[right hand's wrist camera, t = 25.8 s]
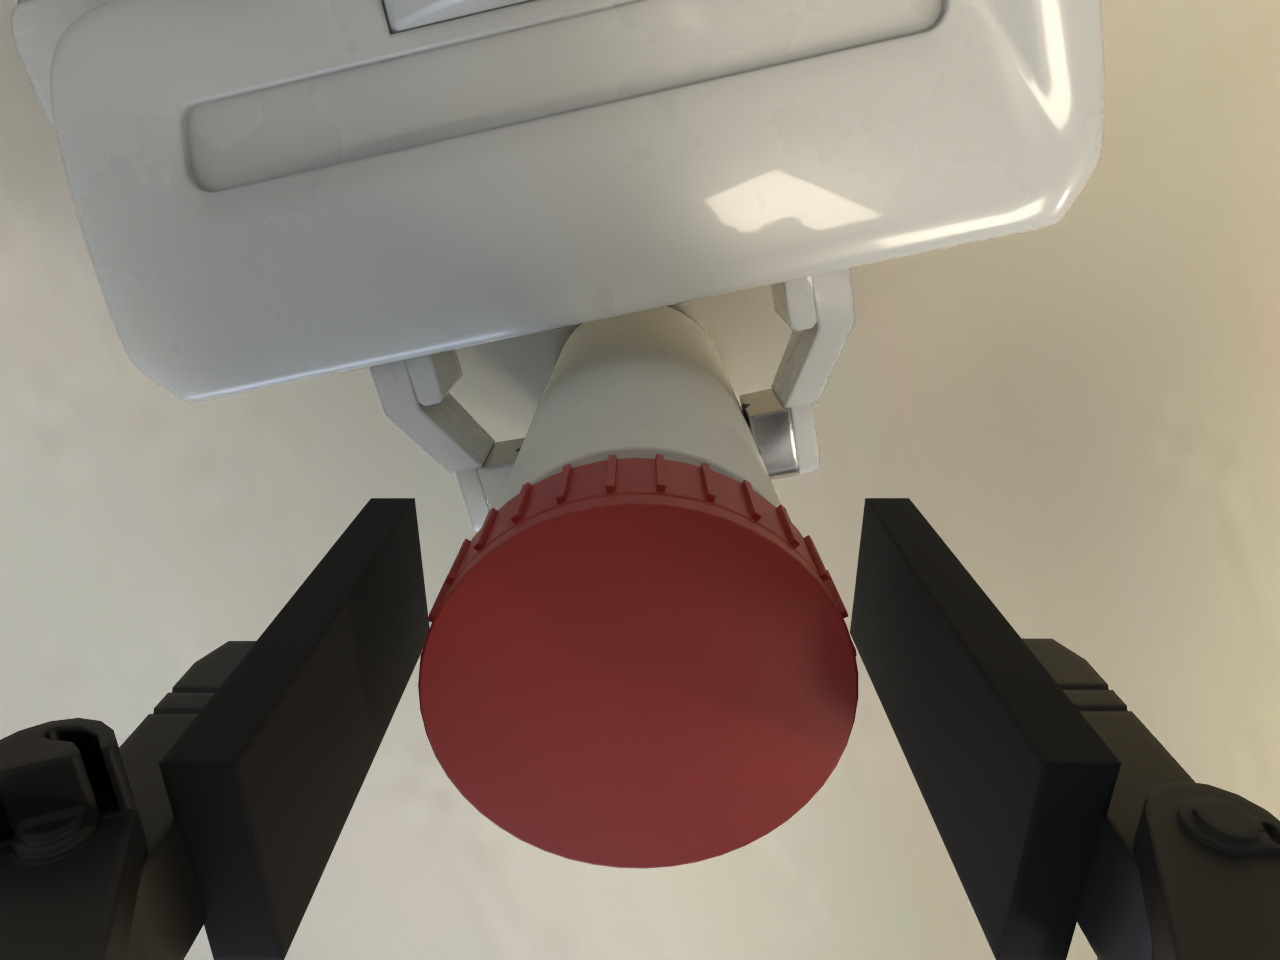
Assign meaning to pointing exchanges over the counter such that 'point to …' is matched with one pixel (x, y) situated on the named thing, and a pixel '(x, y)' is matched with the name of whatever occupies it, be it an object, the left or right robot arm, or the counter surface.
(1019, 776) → the right robot arm
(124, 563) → the counter surface
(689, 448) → the jar
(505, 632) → the lid
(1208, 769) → the counter surface
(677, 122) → the left robot arm
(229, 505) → the counter surface
